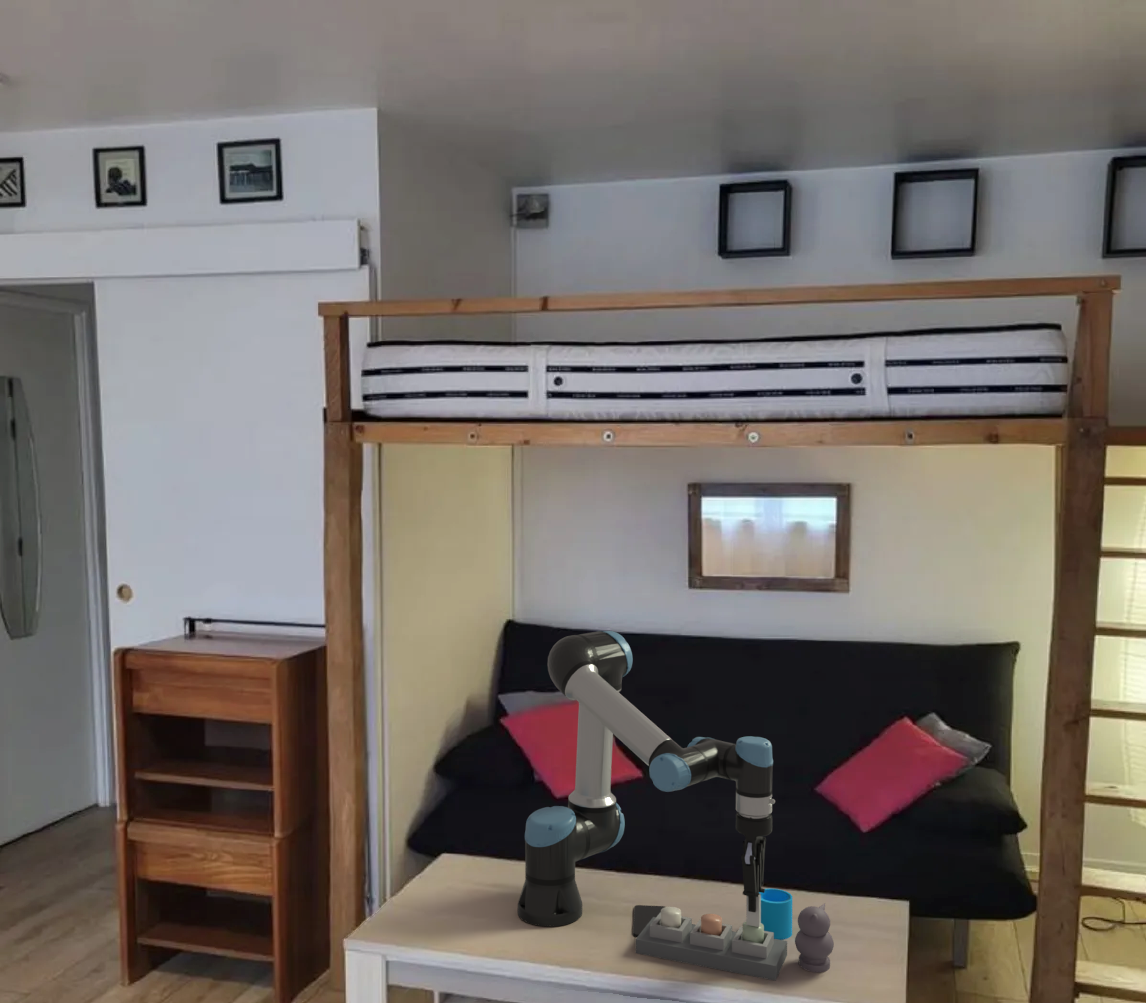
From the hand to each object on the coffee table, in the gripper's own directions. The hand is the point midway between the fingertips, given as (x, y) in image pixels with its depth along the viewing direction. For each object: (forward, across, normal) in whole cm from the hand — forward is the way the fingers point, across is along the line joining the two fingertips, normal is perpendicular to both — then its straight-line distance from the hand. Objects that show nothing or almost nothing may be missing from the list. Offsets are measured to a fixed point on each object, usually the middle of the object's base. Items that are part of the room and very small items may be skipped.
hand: (753, 924), depth 210 cm
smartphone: (+9, +10, +26) cm, 29 cm away
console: (+8, 0, +9) cm, 12 cm away
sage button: (+4, 0, 0) cm, 4 cm away
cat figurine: (+8, +4, -12) cm, 15 cm away
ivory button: (+4, 0, +18) cm, 19 cm away
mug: (+8, +18, -1) cm, 20 cm away
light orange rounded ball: (+4, 0, +9) cm, 10 cm away
